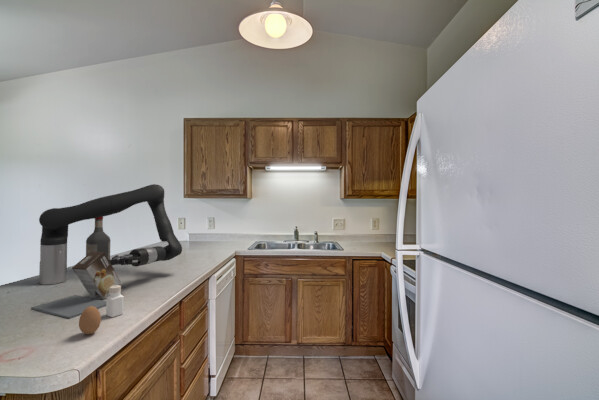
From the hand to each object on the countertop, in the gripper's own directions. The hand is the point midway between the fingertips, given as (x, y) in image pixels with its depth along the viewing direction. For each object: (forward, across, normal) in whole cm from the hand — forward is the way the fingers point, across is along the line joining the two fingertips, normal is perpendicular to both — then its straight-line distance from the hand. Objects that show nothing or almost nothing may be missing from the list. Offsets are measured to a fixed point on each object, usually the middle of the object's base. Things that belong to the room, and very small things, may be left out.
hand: (106, 263), depth 113 cm
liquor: (-26, -41, +12) cm, 50 cm away
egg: (+23, +26, +14) cm, 37 cm away
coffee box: (-1, 0, +11) cm, 11 cm away
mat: (+12, 0, +13) cm, 18 cm away
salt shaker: (+11, +20, +14) cm, 26 cm away
